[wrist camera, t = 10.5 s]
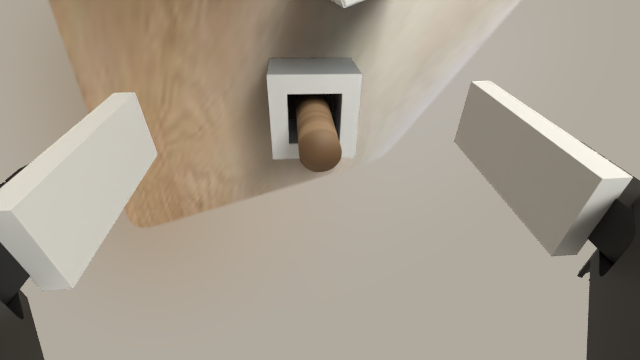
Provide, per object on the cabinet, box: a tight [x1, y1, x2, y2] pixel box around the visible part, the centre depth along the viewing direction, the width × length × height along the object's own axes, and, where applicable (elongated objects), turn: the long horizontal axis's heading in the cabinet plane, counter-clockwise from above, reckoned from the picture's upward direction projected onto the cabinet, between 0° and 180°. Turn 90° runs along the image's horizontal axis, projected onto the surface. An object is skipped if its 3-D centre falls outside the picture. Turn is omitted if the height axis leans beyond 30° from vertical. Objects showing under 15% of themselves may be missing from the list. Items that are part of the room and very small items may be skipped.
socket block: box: [266, 58, 362, 159], centre depth 39 cm, size 10×10×7 cm
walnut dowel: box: [295, 94, 342, 172], centre depth 35 cm, size 4×4×15 cm
